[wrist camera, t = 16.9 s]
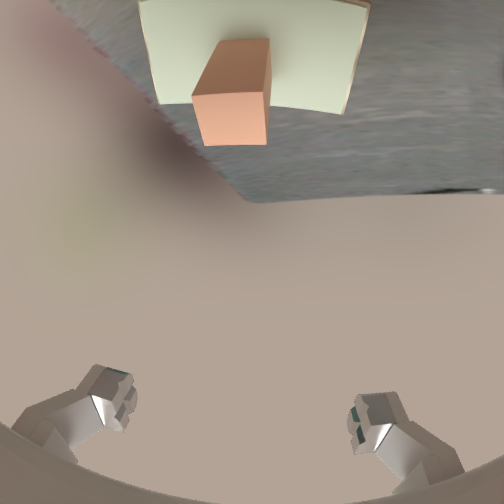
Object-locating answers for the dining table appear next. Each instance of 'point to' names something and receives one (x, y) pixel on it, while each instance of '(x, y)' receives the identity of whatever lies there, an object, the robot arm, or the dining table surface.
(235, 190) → the dining table surface
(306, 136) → the dining table surface
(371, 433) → the robot arm
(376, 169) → the dining table surface
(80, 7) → the dining table surface
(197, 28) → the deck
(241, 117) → the terracotta block
